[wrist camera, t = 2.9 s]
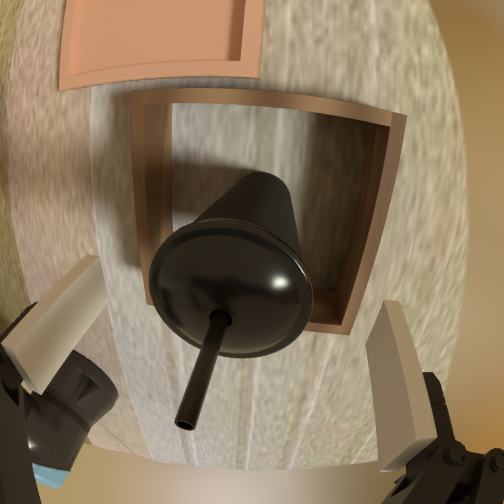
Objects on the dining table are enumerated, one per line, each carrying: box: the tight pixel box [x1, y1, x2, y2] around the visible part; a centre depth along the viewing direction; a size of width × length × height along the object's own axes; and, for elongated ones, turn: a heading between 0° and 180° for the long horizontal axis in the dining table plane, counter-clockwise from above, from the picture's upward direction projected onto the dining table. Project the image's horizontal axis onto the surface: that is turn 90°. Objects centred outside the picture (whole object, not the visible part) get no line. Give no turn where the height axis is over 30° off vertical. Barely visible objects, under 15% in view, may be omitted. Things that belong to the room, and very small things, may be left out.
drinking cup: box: [149, 172, 313, 431], centre depth 17 cm, size 8×8×20 cm
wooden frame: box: [132, 88, 407, 335], centre depth 23 cm, size 18×18×5 cm
